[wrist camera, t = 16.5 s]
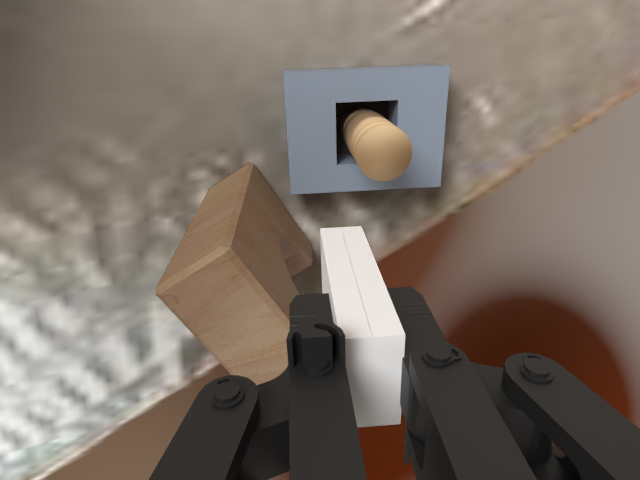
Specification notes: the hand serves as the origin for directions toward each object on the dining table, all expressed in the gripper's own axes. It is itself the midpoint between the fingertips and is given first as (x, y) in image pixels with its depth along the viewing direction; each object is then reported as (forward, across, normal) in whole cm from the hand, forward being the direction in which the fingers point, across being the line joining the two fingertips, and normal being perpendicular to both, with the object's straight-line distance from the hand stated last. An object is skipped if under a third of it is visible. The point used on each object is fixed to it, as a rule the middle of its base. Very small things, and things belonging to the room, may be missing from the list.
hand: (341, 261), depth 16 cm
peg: (+28, +5, 0) cm, 29 cm away
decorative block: (+29, -5, -9) cm, 30 cm away
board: (+28, +5, 0) cm, 29 cm away
